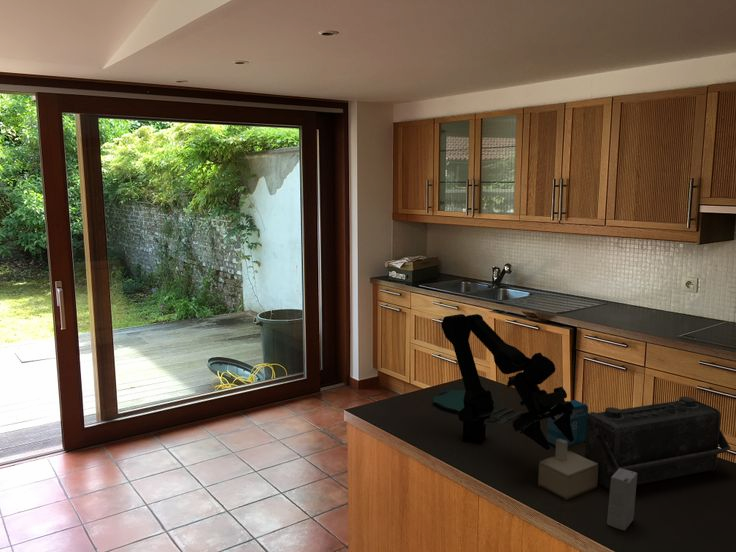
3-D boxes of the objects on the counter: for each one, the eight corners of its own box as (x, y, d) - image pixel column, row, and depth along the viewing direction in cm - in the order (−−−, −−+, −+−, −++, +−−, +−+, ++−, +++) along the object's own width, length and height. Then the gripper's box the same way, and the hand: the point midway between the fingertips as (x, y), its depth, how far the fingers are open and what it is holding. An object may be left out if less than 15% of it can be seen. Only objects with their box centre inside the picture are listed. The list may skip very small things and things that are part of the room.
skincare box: (615, 514, 146) (618, 466, 144) (634, 521, 143) (638, 472, 141) (605, 525, 141) (609, 475, 139) (626, 532, 138) (629, 482, 137)
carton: (538, 485, 160) (539, 464, 159) (568, 473, 166) (569, 453, 165) (566, 500, 152) (567, 478, 151) (597, 487, 159) (598, 466, 158)
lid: (539, 463, 159) (540, 443, 158) (569, 453, 165) (570, 433, 164) (567, 477, 151) (569, 456, 151) (597, 465, 158) (599, 445, 157)
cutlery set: (458, 391, 232) (458, 385, 231) (527, 414, 210) (527, 408, 210) (422, 404, 218) (422, 398, 218) (492, 431, 197) (492, 424, 196)
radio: (685, 454, 178) (691, 388, 175) (729, 476, 165) (736, 405, 162) (577, 474, 166) (582, 403, 163) (615, 500, 153) (620, 423, 150)
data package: (556, 448, 182) (558, 410, 180) (546, 443, 186) (547, 405, 184) (586, 441, 187) (588, 403, 185) (575, 435, 191) (577, 399, 189)
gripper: (522, 384, 157) (554, 440, 149) (570, 372, 167) (603, 424, 159) (499, 404, 165) (529, 458, 157) (546, 392, 175) (576, 442, 167)
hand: (560, 445), depth 160 cm, fingers open, 9 cm apart
